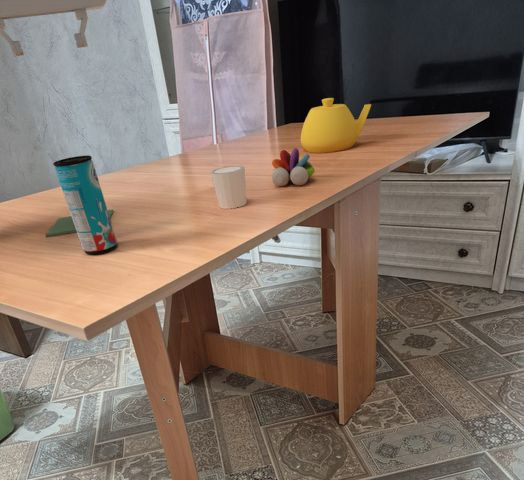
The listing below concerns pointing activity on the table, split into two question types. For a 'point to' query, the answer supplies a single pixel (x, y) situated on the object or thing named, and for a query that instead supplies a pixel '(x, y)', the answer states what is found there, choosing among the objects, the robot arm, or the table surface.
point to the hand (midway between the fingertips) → (51, 51)
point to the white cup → (230, 186)
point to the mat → (65, 226)
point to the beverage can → (86, 204)
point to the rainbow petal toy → (291, 168)
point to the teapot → (331, 127)
